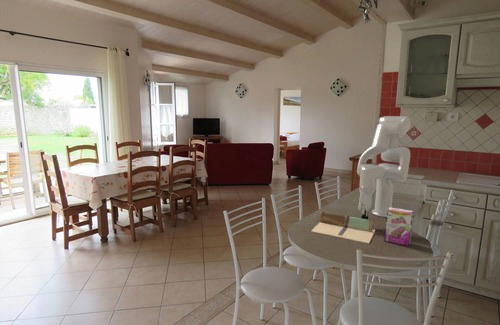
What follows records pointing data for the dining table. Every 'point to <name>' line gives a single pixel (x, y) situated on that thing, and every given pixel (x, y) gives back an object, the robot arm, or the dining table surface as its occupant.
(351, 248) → the dining table surface
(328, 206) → the dining table surface
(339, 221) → the fence base
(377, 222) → the dining table surface
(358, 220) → the hinged panel
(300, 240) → the dining table surface
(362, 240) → the card
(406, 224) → the candy bar box
